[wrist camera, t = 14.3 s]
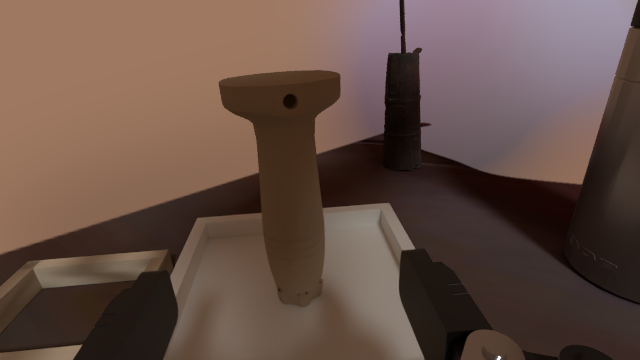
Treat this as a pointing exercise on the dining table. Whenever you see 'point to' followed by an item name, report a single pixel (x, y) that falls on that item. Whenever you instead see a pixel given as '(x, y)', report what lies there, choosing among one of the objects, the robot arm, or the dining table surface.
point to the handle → (288, 170)
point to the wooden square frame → (36, 275)
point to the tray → (288, 319)
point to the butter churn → (402, 107)
